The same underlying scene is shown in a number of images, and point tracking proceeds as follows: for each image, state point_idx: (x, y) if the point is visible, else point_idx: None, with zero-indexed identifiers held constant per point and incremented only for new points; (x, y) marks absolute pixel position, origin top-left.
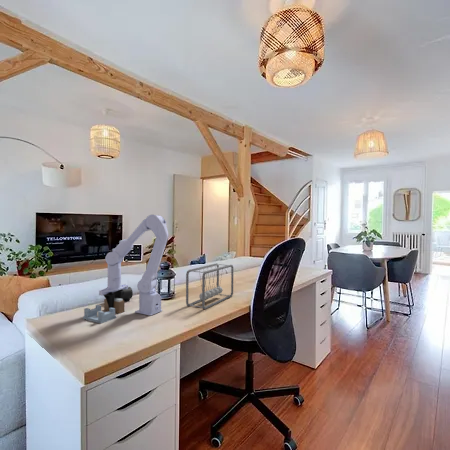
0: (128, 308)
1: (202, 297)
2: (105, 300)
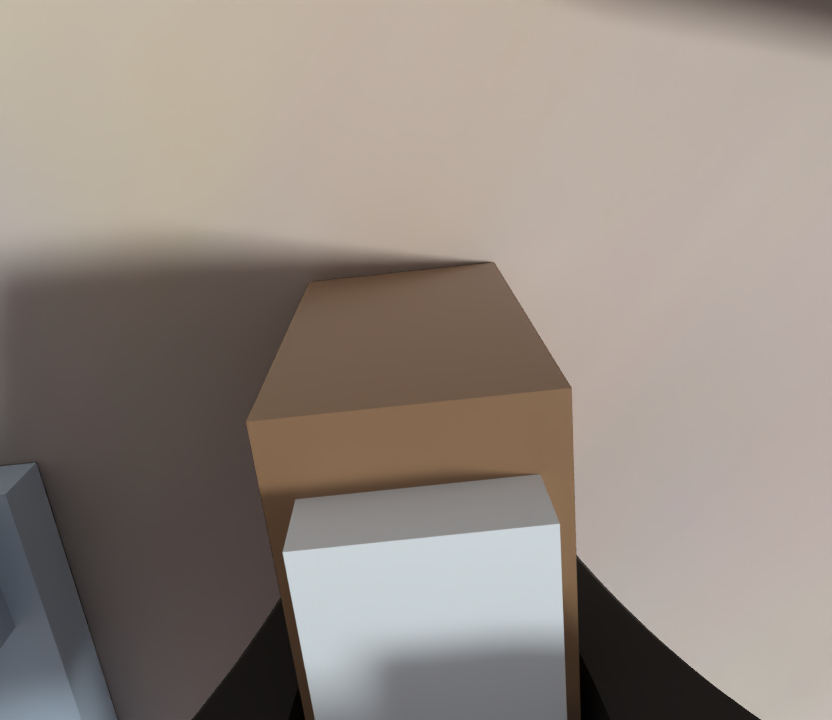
0: (754, 646)
1: None
2: (269, 491)
